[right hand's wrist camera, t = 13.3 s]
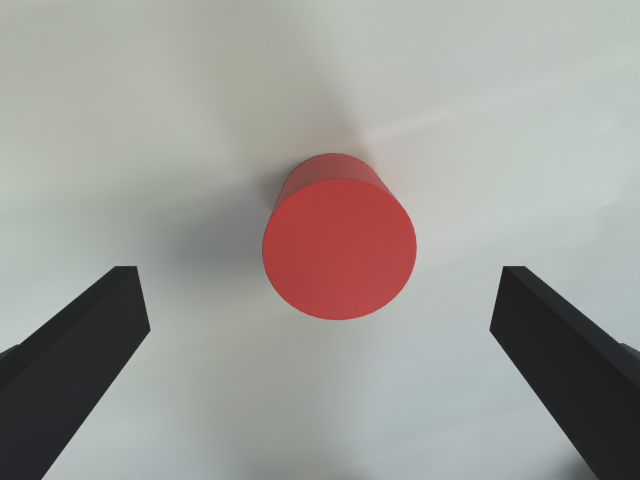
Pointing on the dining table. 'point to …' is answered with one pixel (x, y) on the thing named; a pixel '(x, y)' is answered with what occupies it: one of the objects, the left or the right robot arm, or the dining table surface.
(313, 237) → the canister
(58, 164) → the dining table surface
